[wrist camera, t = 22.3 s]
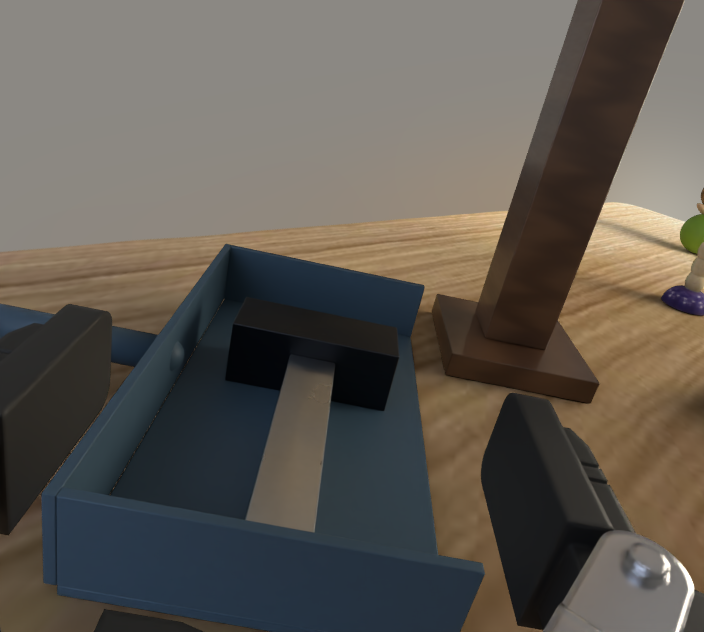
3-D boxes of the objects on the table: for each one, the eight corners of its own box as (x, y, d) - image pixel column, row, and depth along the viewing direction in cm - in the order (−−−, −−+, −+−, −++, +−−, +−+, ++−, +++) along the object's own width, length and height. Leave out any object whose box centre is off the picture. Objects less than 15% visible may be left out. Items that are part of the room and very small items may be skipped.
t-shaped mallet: (389, 604, 19) (413, 532, 18) (143, 560, 19) (150, 483, 17) (383, 378, 32) (397, 327, 31) (238, 349, 32) (246, 295, 30)
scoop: (408, 339, 38) (424, 284, 36) (447, 662, 18) (485, 573, 16) (62, 269, 37) (62, 209, 35) (-302, 534, 17) (-341, 424, 15)
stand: (439, 386, 33) (713, -470, 19) (424, 307, 43) (597, -294, 29) (607, 420, 34) (993, -387, 20) (554, 334, 44) (785, -243, 30)
